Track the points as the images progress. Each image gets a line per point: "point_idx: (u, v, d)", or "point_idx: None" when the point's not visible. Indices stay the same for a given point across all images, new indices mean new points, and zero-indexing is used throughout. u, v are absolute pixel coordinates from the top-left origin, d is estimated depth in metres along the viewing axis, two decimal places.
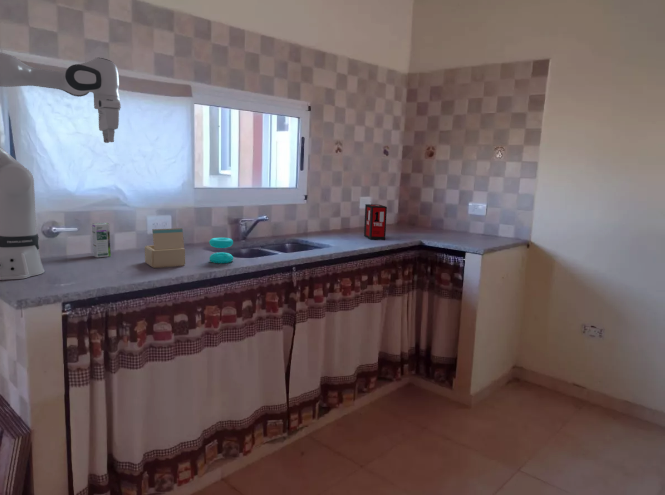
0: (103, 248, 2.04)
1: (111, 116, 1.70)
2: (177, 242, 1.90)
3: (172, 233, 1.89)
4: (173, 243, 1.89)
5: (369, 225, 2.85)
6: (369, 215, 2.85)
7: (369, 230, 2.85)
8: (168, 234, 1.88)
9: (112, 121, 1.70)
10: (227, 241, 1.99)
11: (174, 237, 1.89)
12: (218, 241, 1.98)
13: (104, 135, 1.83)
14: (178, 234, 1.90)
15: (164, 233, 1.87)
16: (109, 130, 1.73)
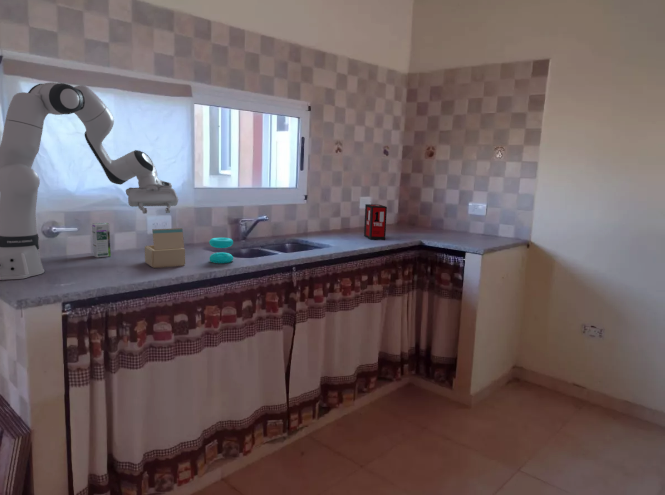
0: (103, 248, 2.04)
1: None
2: (177, 242, 1.90)
3: (172, 233, 1.89)
4: (173, 243, 1.89)
5: (369, 225, 2.85)
6: (369, 215, 2.85)
7: (369, 230, 2.85)
8: (168, 234, 1.88)
9: None
10: (227, 241, 1.99)
11: (174, 237, 1.89)
12: (218, 241, 1.98)
13: None
14: (178, 234, 1.90)
15: (164, 233, 1.87)
16: None
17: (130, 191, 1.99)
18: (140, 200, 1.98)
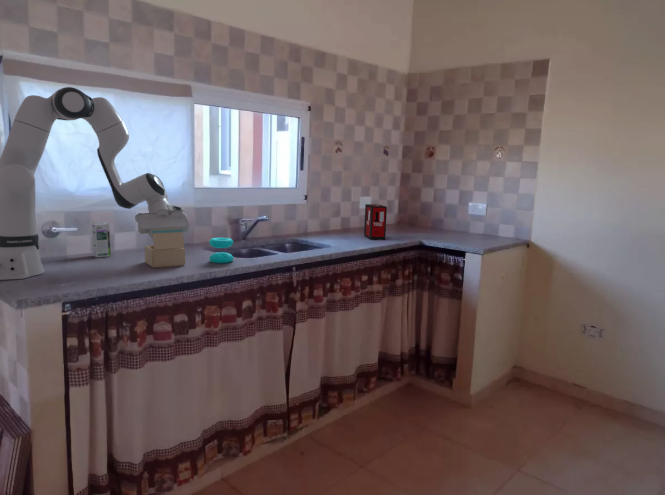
0: (103, 248, 2.04)
1: None
2: (177, 242, 1.90)
3: (172, 233, 1.89)
4: (173, 243, 1.89)
5: (369, 225, 2.85)
6: (369, 215, 2.85)
7: (369, 230, 2.85)
8: (168, 234, 1.88)
9: None
10: (227, 241, 1.99)
11: (174, 237, 1.89)
12: (218, 241, 1.98)
13: None
14: (178, 234, 1.90)
15: (164, 233, 1.87)
16: None
17: (140, 217, 1.88)
18: (150, 227, 1.87)
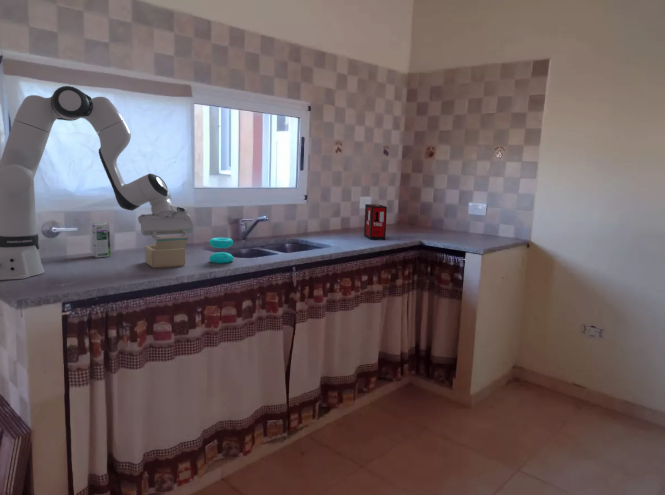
0: (103, 248, 2.04)
1: None
2: (179, 245, 1.88)
3: (176, 240, 1.85)
4: (174, 246, 1.87)
5: (369, 225, 2.85)
6: (369, 215, 2.85)
7: (369, 230, 2.85)
8: (172, 241, 1.84)
9: None
10: (227, 241, 1.99)
11: (177, 242, 1.86)
12: (218, 241, 1.98)
13: None
14: (182, 241, 1.86)
15: (168, 240, 1.83)
16: None
17: (143, 219, 1.83)
18: (154, 229, 1.83)
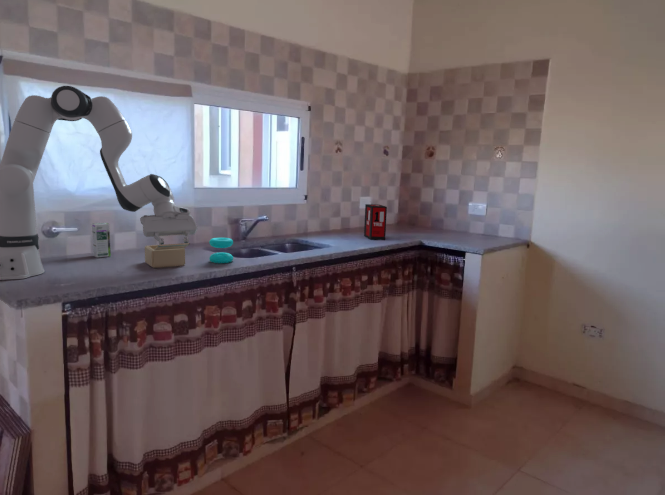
0: (103, 248, 2.04)
1: None
2: (179, 247, 1.88)
3: (177, 245, 1.84)
4: (175, 248, 1.87)
5: (369, 225, 2.85)
6: (369, 215, 2.85)
7: (369, 230, 2.85)
8: (173, 246, 1.83)
9: None
10: (227, 241, 1.99)
11: (178, 246, 1.86)
12: (218, 241, 1.98)
13: None
14: (183, 245, 1.86)
15: (169, 246, 1.82)
16: None
17: (145, 220, 1.80)
18: (156, 230, 1.80)
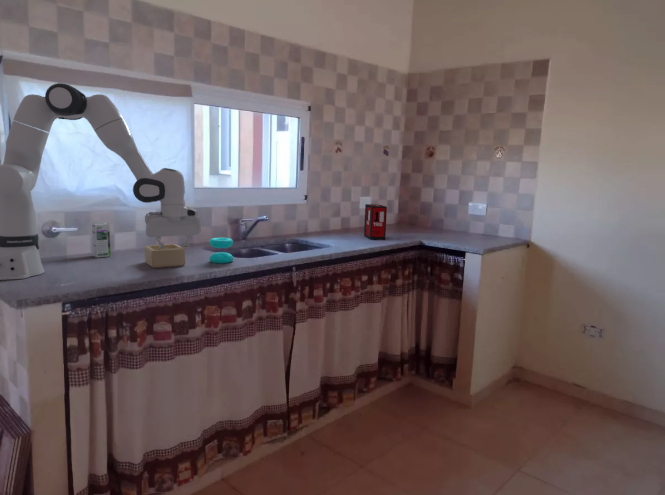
0: (103, 248, 2.04)
1: None
2: None
3: (178, 248, 1.84)
4: None
5: (369, 225, 2.85)
6: (369, 215, 2.85)
7: (369, 230, 2.85)
8: None
9: None
10: (227, 241, 1.99)
11: None
12: (218, 241, 1.98)
13: (160, 241, 1.79)
14: None
15: None
16: None
17: (150, 222, 1.75)
18: (159, 235, 1.77)
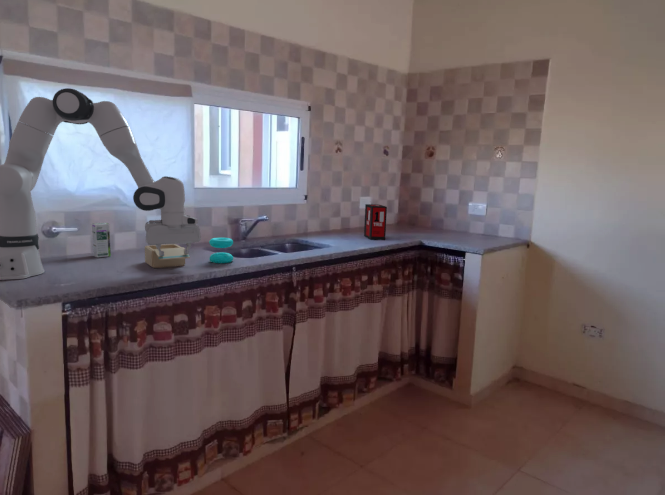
0: (103, 248, 2.04)
1: None
2: None
3: None
4: None
5: (369, 225, 2.85)
6: (369, 215, 2.85)
7: (369, 230, 2.85)
8: None
9: None
10: (227, 241, 1.99)
11: None
12: (218, 241, 1.98)
13: (160, 249, 1.80)
14: None
15: None
16: None
17: (150, 230, 1.75)
18: (159, 243, 1.78)
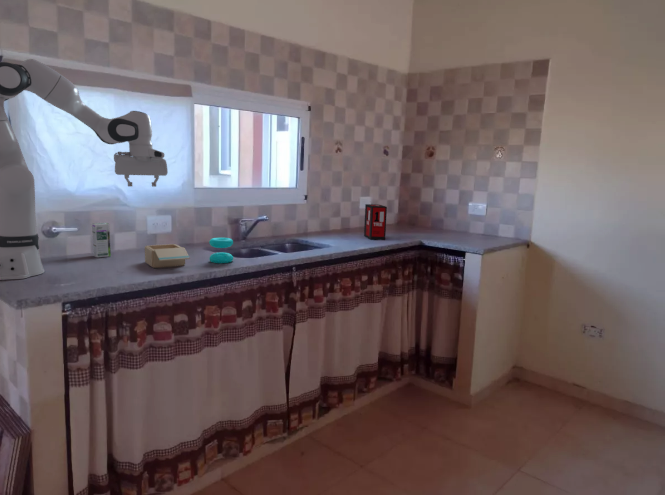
0: (103, 248, 2.04)
1: None
2: None
3: None
4: None
5: (369, 225, 2.85)
6: (369, 215, 2.85)
7: (369, 230, 2.85)
8: None
9: None
10: (227, 241, 1.99)
11: None
12: (218, 241, 1.98)
13: (128, 179, 1.92)
14: None
15: None
16: None
17: (118, 160, 1.88)
18: (127, 173, 1.91)
